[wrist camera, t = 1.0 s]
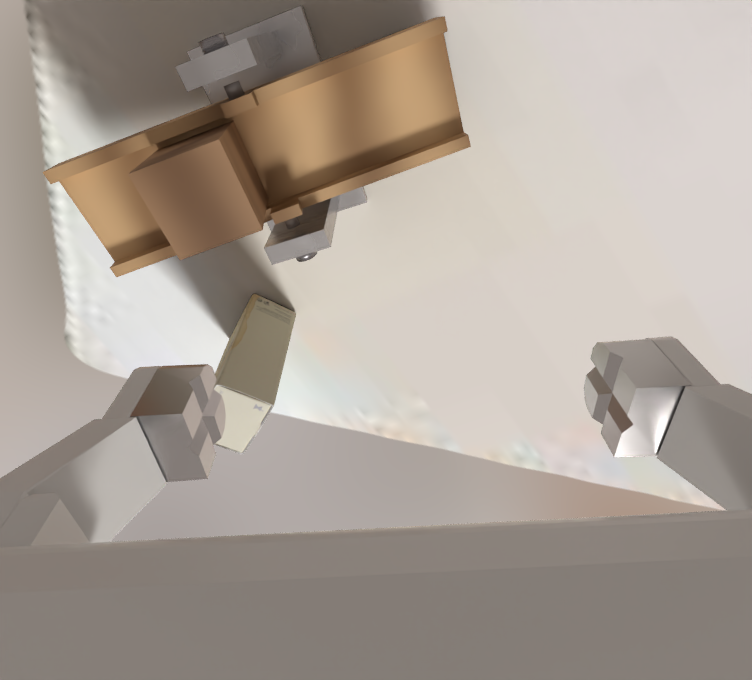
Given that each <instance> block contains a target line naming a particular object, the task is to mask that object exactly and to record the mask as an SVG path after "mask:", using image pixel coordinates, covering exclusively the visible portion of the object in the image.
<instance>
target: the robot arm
mask: <svg viewBox="0 0 752 680" xmlns="http://www.w3.org/2000/svg"><path fill="white" fill-rule="evenodd" d="M591 360H592V362H593V363H594V365H595V366H596V367H595V368H593V369H592V370H591V371H590V372H589V373H588V374H587V375H586V380H585V385H584V395H585V402H586V405H587V409H588V411H589V413H590V414H591V416H592V418H593V419H595V420H597V421H598V422H600V423H601V424H603V427H602V430H601V434H602V436H603V438H604V440H605V442H606V443H607V445H608V447H609V449H610V450H611V452H612V454H613V456H614V457H640V456H657V458H658V459H659V460H660V461H662V462H663V463H664V464H666V465H667V466H668V467H670V468H671V469H672V470H674V471H675V472H676V473H678V474H679V475H680V476H682V477H683V478H684V479H686V480H687V481H688V482H690V483H691V484H692V485H694V486H695V487H696V488H698V489H699V490H700V491H702V492H703V493H704V494H706V495H707V496H708V497H710V498H711V499H712V500H714V501H715V502H716V503H718V504H719V505H720V506H722V507H723V508H724V509H726V510H727V511H710V512H709V511H708V512H689V513H670V514H651V515H632V516H611V517H591V518H573V519H572V518H571V519H550V520H530V521H510V522H490V523H470V524H453V525H452V524H450V525H431V526H411V527H392V528H373V529H353V530H335V531H314V532H294V533H275V534H255V535H237V536H236V535H235V536H218V537H217V536H216V537H196V538H176V539H158V540H137V541H117V542H110V541H111V540H112V539H113V538H114V537H115V536H116V535H117V534H118V533H119V532H120V531H121V530H122V529H123V528H124V527H125V526H126V525H127V524H128V523H129V522H130V521H131V520H132V519H133V518H134V517H135V516H136V515H137V514H138V513H139V512H140V511H141V510H142V509H143V508H144V507H145V505H147V504H148V503H149V502H150V501H151V500H152V499H153V498H154V497H155V496H156V495H157V494H158V493H159V491H161V490H162V489H163V487H165V486H166V484H167V483H166V482H172V481H186V480H197V479H208V476H209V473H210V470H211V467H212V464H213V462H214V458H215V456H216V452H215V449H214V446H213V445H214V444H215V443H216V442H217V441H219V440H220V439H221V438H222V435H223V432H224V429H225V418H226V413H225V405H224V401H223V398H222V395H220V394H219V393H218V392H217V391H215V390H214V389H213V388H214V385H215V383H216V380H217V379H216V376H215V373H214V371H213V368H212V367H211V366H209V365H208V364H204V365H177V366H162V367H161V366H154V367H139V368H137V369H135V370H134V371H133V372H132V374H131V375H130V377H129V378H128V380H127V381H126V383H125V384H124V386H123V387H122V389H121V390H120V392H119V394H118V395H117V397H116V398H115V400H114V401H113V403H112V404H111V406H110V407H109V409H108V410H107V412H106V414H105V415H104V416H103V418H102V419H96V420H93V421H91V422H90V423H88V424H86V425H85V426H83V427H82V428H80V429H78V430H77V431H75V432H74V433H72V434H70V435H69V436H67V437H66V438H64V439H62V440H61V441H60V442H58V443H56V444H54V445H53V446H51V447H50V448H48V449H46V450H45V451H43V452H42V453H40V454H39V455H37V456H35V457H34V458H32V459H30V460H29V461H27V462H26V463H24V464H22V465H21V466H19V467H18V468H16V469H15V470H13V471H12V472H10V473H8V474H7V475H5V476H3V477H2V478H0V680H752V394H750V393H748V392H745V391H743V390H741V389H739V388H736V387H734V386H732V385H729V384H722V385H721V384H720V383H719V382H718V381H717V380H716V379H715V378H714V377H713V376H712V375H711V374H710V373H709V372H708V371H707V370H706V369H705V368H704V367H703V365H702V364H701V363H700V362H699V361H698V360H697V359H696V358H695V357H694V356H693V355H692V354H691V353H690V352H689V351H688V350H687V349H686V348H685V347H684V346H683V345H682V344H681V342H680V341H679V340H678V339H676V338H673V337H671V336H670V337H658V338H646V339H642V340H627V341H612V342H597V343H596V345H595V346H594V348H593V351H592V355H591Z"/></svg>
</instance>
